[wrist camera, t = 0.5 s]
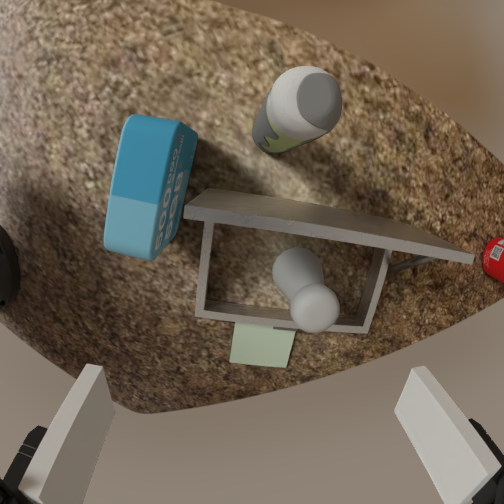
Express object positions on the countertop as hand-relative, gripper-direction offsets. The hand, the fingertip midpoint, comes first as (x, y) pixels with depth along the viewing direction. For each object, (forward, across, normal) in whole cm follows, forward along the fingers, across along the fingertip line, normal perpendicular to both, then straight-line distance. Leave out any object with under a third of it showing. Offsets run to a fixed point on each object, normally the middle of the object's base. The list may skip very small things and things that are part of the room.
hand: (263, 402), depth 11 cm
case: (+26, +6, -3) cm, 27 cm away
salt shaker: (+26, +6, -3) cm, 27 cm away
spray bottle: (+26, +3, +13) cm, 29 cm away
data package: (+26, -9, +7) cm, 29 cm away
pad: (+26, +3, -14) cm, 29 cm away
